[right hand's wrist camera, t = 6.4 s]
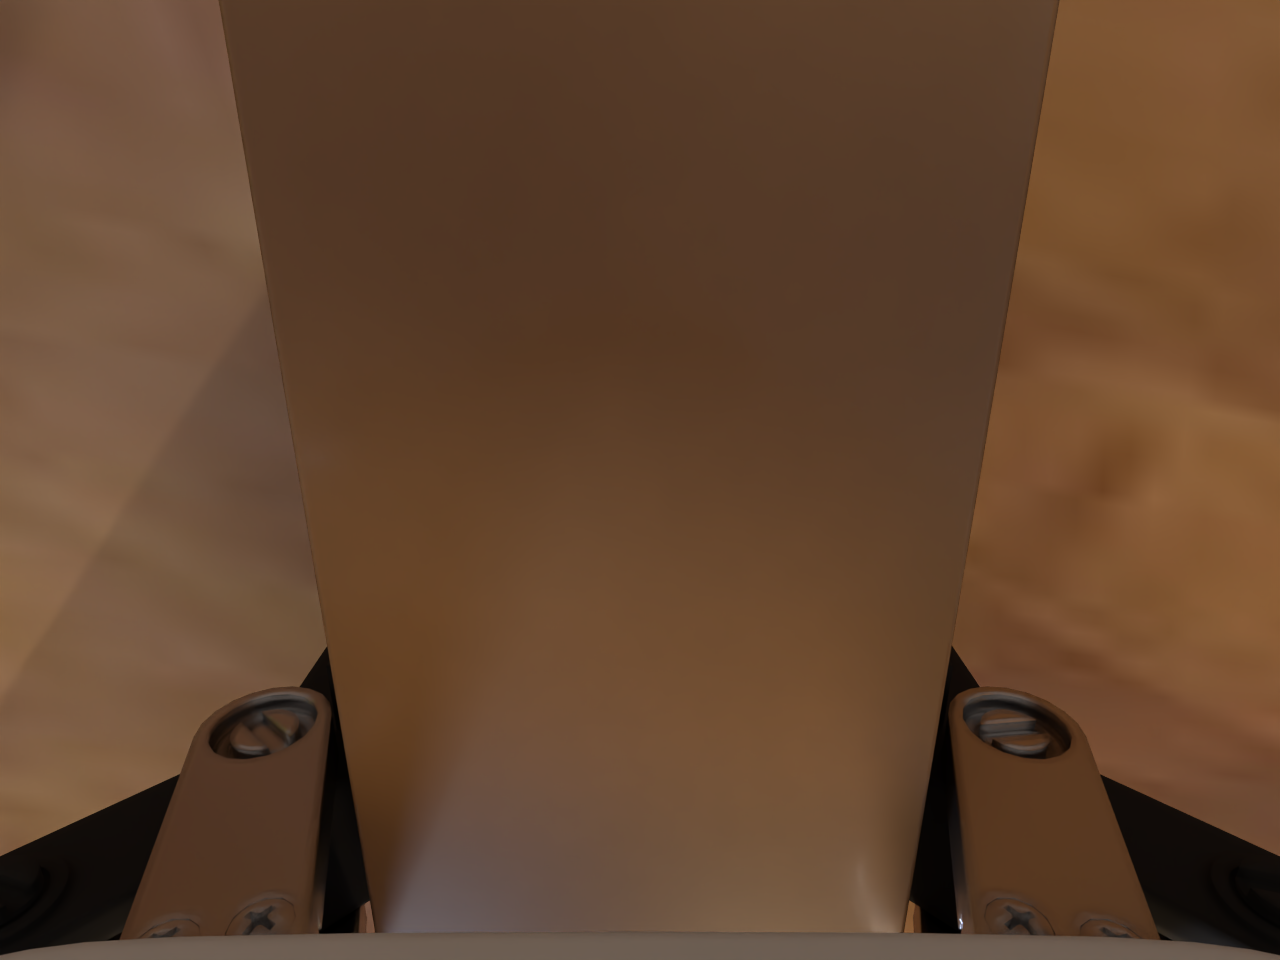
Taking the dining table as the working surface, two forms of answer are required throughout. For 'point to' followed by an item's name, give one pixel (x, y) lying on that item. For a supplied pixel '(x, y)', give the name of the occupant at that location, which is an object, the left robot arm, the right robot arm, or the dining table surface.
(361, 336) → the post
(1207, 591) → the dining table surface
